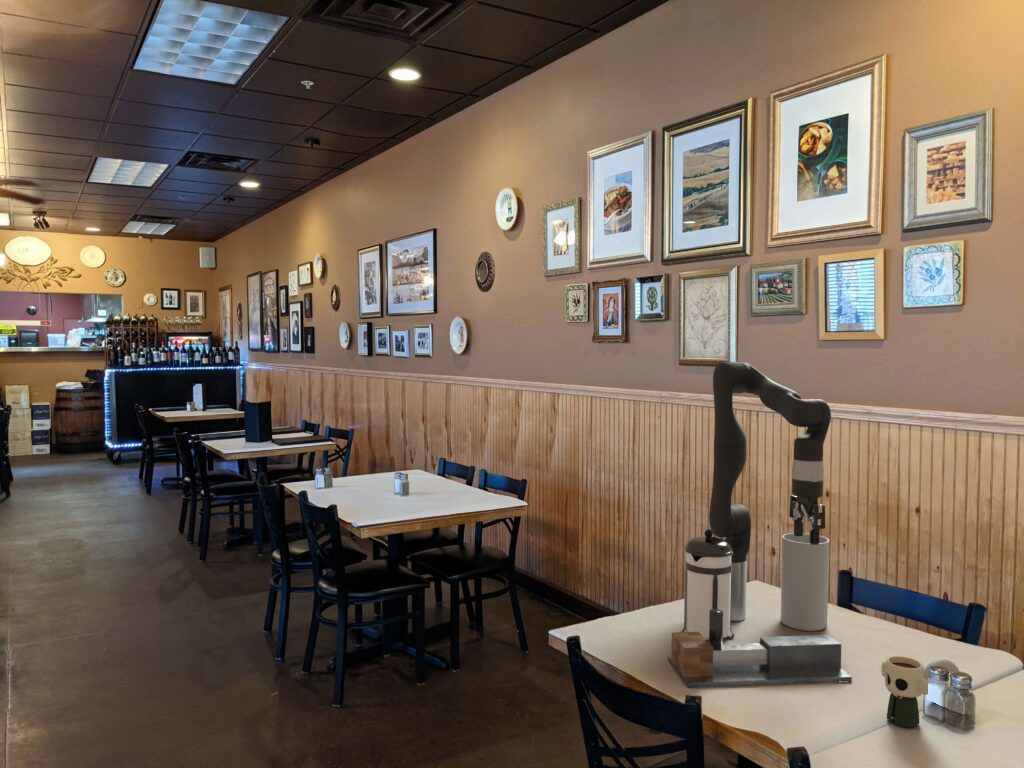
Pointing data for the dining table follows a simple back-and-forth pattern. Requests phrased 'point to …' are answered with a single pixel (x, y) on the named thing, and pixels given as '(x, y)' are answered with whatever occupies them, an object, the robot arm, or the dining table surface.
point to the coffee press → (707, 583)
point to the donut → (942, 663)
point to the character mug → (904, 688)
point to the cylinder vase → (804, 582)
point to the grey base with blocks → (781, 664)
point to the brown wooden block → (692, 654)
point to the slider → (733, 646)
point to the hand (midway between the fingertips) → (806, 540)
